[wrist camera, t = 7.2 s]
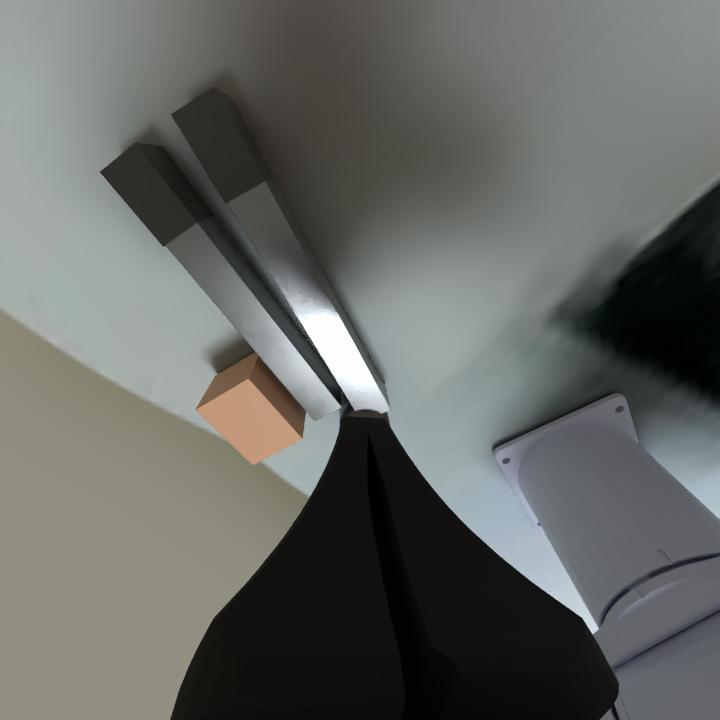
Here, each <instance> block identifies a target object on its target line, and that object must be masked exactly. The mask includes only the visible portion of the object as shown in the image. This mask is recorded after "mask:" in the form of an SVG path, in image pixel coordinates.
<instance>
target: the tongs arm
mask: <svg viewBox="0 0 720 720" xmlns="http://www.w3.org/2000/svg"><path fill="white" fill-rule="evenodd" d="M171 115H172V117H173V119H174V120H175V122H176V123H177V125H178V127H179V128H180V130H181V132H182V133H183V135H184V136H185V138H186V140H187V141H188V143H189V145H190V146H191V148H192V149H193V151H194V153H195V154H196V156H197V158H198V159H199V161H200V162H201V164H202V166H203V167H204V169H205V171H206V172H207V174H208V175H209V177H210V179H211V180H212V182H213V184H214V185H215V187H216V188H217V190H218V192H219V193H220V195H221V197H222V198H223V200H224V202H225V203H228V204H229V206H230V207H231V209H232V211H233V212H234V214H235V216H236V217H237V219H238V220H239V222H240V224H241V225H242V227H243V229H244V230H245V232H246V233H247V235H248V237H249V238H250V240H251V242H252V243H253V245H254V247H255V248H256V250H257V251H258V253H259V255H260V256H261V258H262V260H263V261H264V263H265V265H266V266H267V268H268V269H269V271H270V273H271V274H272V276H273V278H274V279H275V281H276V282H277V284H278V286H279V287H280V289H281V291H282V292H283V294H284V296H285V297H286V299H287V300H288V302H289V304H290V305H291V307H292V309H293V310H294V312H295V314H296V315H297V317H298V318H299V320H300V322H301V323H302V325H303V327H304V328H305V330H306V331H307V333H308V335H309V336H310V338H311V340H312V341H313V343H314V345H315V346H316V348H317V349H318V351H319V353H320V354H321V356H322V358H323V359H324V361H325V363H326V364H327V366H328V367H329V369H330V371H331V372H332V374H333V376H334V377H335V379H336V381H337V382H338V384H339V385H340V387H341V389H342V390H343V392H344V394H345V395H346V396H345V397H344V398H343V399H342V401H341V408H340V419H341V418H343V417H344V416H349V417H371V418H385V419H386V420H387V422H388V423H389V418H388V413H387V411H389V410H391V409H390V404H389V400H388V395H387V390H386V387H385V385H384V384H383V382H382V380H381V378H380V376H379V374H378V372H377V371H376V369H375V367H374V365H373V363H372V361H371V359H370V358H369V356H368V354H367V352H366V350H365V348H364V346H363V345H362V343H361V341H360V339H359V337H358V335H357V333H356V332H355V330H354V328H353V326H352V324H351V322H350V320H349V319H348V317H347V315H346V313H345V311H344V309H343V308H342V306H341V304H340V302H339V300H338V298H337V296H336V295H335V293H334V291H333V289H332V287H331V285H330V283H329V282H328V280H327V278H326V276H325V274H324V272H323V270H322V269H321V267H320V265H319V263H318V261H317V259H316V257H315V256H314V254H313V252H312V250H311V248H310V246H309V244H308V243H307V241H306V239H305V237H304V235H303V233H302V231H301V230H300V228H299V226H298V224H297V222H296V220H295V219H294V217H293V215H292V213H291V211H290V209H289V207H288V206H287V204H286V202H285V200H284V198H283V196H282V194H281V193H280V191H279V189H278V187H277V185H276V183H275V181H274V180H273V179H274V177H273V175H272V173H271V171H270V170H269V168H268V166H267V164H266V162H265V160H264V158H263V157H262V155H261V153H260V151H259V149H258V147H257V145H256V144H255V142H254V140H253V138H252V136H251V134H250V132H249V131H248V129H247V127H246V125H245V123H244V121H243V119H242V117H241V116H240V114H239V112H238V110H237V108H236V106H235V104H234V103H233V101H232V99H231V98H230V97H229V96H227V95H226V94H224V93H223V92H221V91H219V90H218V89H216V88H215V87H213V88H212V89H210V90H209V91H207V92H206V93H204V94H202V95H201V96H199V97H198V98H196V99H195V100H193V101H191V102H190V103H188V104H187V105H185V106H183V107H182V108H180V109H179V110H177V111H176V112H174V113H172V114H171ZM389 425H390V423H389Z"/></svg>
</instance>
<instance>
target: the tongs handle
mask: <svg viewBox="0 0 720 720" xmlns="http://www.w3.org/2000/svg"><path fill="white" fill-rule="evenodd" d="M100 173H101V174H102V175H103V176H104V177H105V179H106V180H107V181H108V182H109V183H110V185H111V186H112V187H113V188H114V189H115V190H116V192H117V193H118V194H119V195H120V196H121V197H122V199H123V200H124V201H125V202H126V203H127V204H128V206H129V207H130V208H131V209H132V210H133V212H134V213H135V214H136V215H137V216H138V217H139V219H140V220H141V221H142V222H143V223H144V224H145V226H146V227H147V228H148V229H149V230H150V231H151V233H152V234H153V235H154V236H155V237H156V239H157V240H158V241H159V242H160V243H161V244H162V246H163V247H164V246H166V247H167V248H168V249H169V250H170V251H171V253H172V254H173V255H174V256H175V257H176V258H177V260H178V261H179V262H180V263H181V264H182V266H183V267H184V268H185V269H186V270H187V271H188V273H189V274H190V275H191V276H192V277H193V278H194V280H195V281H196V282H197V283H198V284H199V286H200V287H201V288H202V289H203V290H204V291H205V293H206V294H207V295H208V296H209V297H210V299H211V300H212V301H213V302H214V303H215V304H216V306H217V307H218V308H219V309H220V310H221V312H222V313H223V314H224V315H225V316H226V317H227V319H228V320H229V321H230V322H231V323H232V324H233V326H234V327H235V328H236V329H237V330H238V332H239V333H240V334H241V335H242V336H243V337H244V339H245V340H246V341H247V342H248V343H249V345H250V346H251V347H252V348H253V349H254V350H255V352H256V353H257V354H258V355H259V356H260V357H261V359H262V360H263V361H264V362H265V363H266V365H267V366H268V367H269V368H270V369H271V370H272V372H273V373H274V374H275V375H276V376H277V378H278V379H279V380H280V381H281V382H282V383H283V385H284V386H285V387H286V388H287V389H288V391H289V392H290V393H291V394H292V395H293V396H294V398H295V399H296V400H297V401H298V402H299V403H300V405H301V406H302V407H303V408H304V409H305V411H306V412H307V413H308V414H309V415H310V416H311V418H312V419H313V420H314V421H317V420H319V419H320V418H322V417H324V416H326V415H328V414H330V413H332V412H334V411H335V410H337V409H339V408H341V387H340V385H339V384H338V382H337V381H336V379H335V377H334V376H333V375H332V373H331V372H330V371H329V369H328V368H327V367H326V365H325V364H324V363H323V361H322V360H321V359H320V357H319V356H318V355H317V353H316V352H315V351H314V349H313V348H312V347H311V346H310V344H309V343H308V342H307V340H306V339H305V338H304V336H303V335H302V334H301V332H300V331H299V330H298V328H297V327H296V326H295V324H294V323H293V322H292V320H291V319H290V318H289V316H288V315H287V314H286V312H285V311H284V310H283V308H282V307H281V306H280V304H279V303H278V302H277V301H276V299H275V298H274V297H273V295H272V294H271V293H270V291H269V290H268V289H267V287H266V286H265V285H264V283H263V282H262V281H261V279H260V278H259V277H258V275H257V274H256V273H255V271H254V270H253V269H252V267H251V266H250V265H249V263H248V262H247V261H246V259H245V258H244V257H243V255H242V254H241V253H240V252H239V250H238V249H237V248H236V246H235V245H234V244H233V242H232V241H231V240H230V238H229V237H228V236H227V234H226V233H225V232H224V230H223V229H222V228H221V226H220V225H219V224H218V222H217V221H216V220H215V218H214V217H213V216H214V215H213V214H212V213H211V211H210V210H209V209H208V207H207V206H206V205H205V203H204V202H203V201H202V199H201V198H200V197H199V195H198V194H197V193H196V191H195V190H194V189H193V187H192V186H191V185H190V183H189V182H188V181H187V179H186V178H185V177H184V175H183V174H182V173H181V171H180V170H179V169H178V167H177V166H176V165H175V163H174V162H173V161H172V160H171V158H170V157H169V156H168V154H167V153H166V152H165V150H164V149H163V148H162V146H157V145H148V144H139V143H135V144H133V145H132V146H131V147H130V148H129V149H127V150H126V151H125V152H124V153H122V154H121V155H120V156H119V157H118V158H116V159H115V160H114V161H113V162H111V163H110V164H109V165H108V166H107V167H105V168H104V169H103V170H102V171H100Z"/></svg>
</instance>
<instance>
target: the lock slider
mask: <svg viewBox="0 0 720 720" xmlns="http://www.w3.org/2000/svg"><path fill="white" fill-rule="evenodd" d="M196 411H197V412H198V413H199V414H200V415H201V416H202V417H203V418H204V419H205V420H206V421H207V422H209V423H210V424H211V425H212V426H213V427H214V428H215V429H216V430H217V431H218V432H219V433H220V434H221V435H222V436H223V437H224V438H225V439H226V440H227V441H228V442H229V443H230V444H231V445H232V446H233V447H235V449H236V450H238V451H239V452H240V453H241V454H242V455H243V456H244V457H245V458H246V459H247V460H248V461H249V462H250V463H251V464H252V465H254V464H256V463H258V462H259V461H261V460H263V459H265V458H267V457H269V456H271V455H273V454H275V453H276V452H278V451H280V450H282V449H284V448H286V447H288V446H290V445H292V444H294V443H295V442H297V441H299V440H301V439H302V438H303V430H304V422H305V415H306V411H305V409H304V408H303V407H302V406H301V405H300V403H299V402H298V401H297V400H296V399H295V398H294V396H293V395H292V394H291V393H290V392H289V391H288V389H287V388H286V387H285V386H284V385H283V383H282V382H281V381H280V380H279V379H278V378H277V376H276V375H275V374H274V373H273V372H272V370H271V369H270V368H269V367H268V366H267V365H266V363H265V362H264V361H263V360H262V359H261V357H260V356H259V355H258V354H257V353H256V352H254V353H252V354H251V355H249V356H247V357H246V358H244V359H242V360H241V361H239V362H237V363H236V364H234V365H233V366H231V367H229V368H228V369H226V370H224V371H223V372H221V373H219V374H218V375H216V376H215V377H214V379H213V381H212V382H211V384H210V386H209V388H208V389H207V391H206V393H205V394H204V396H203V398H202V400H201V401H200V403H199V405H198V406H197V408H196Z"/></svg>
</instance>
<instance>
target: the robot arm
mask: <svg viewBox="0 0 720 720" xmlns="http://www.w3.org/2000/svg"><path fill="white" fill-rule="evenodd" d="M617 407H618V408H617ZM616 408H617V409H616ZM493 454H494V457H495V458H496V460H497V462H498V464H499V466H500V467H501V469H502V471H503V473H504V474H505V476H506V478H507V480H508V481H509V483H510V485H511V487H512V488H513V490H514V492H515V494H516V495H517V497H518V499H519V501H520V502H521V504H522V506H523V508H524V509H525V511H526V513H527V515H528V516H529V518H530V520H531V522H532V523H533V525H534V527H535V529H536V531H537V532H538V534H539V535H546V536H547V538H548V539H549V541H550V543H551V545H552V546H553V548H554V550H555V552H556V554H557V555H558V557H559V559H560V561H561V562H562V564H563V566H564V568H565V569H566V571H567V573H568V575H569V577H570V578H571V580H572V582H573V584H574V585H575V587H576V589H577V591H578V593H579V594H580V596H581V598H582V600H583V601H584V603H585V605H586V607H587V608H588V610H589V612H590V614H591V616H592V617H593V619H594V621H595V623H596V624H597V626H598V628H599V630H598V631H596V632H595V633H594V634H593V635H592V633H591V631H590V630H589V628H588V627H587V625H586V623H585V622H584V620H583V619H582V618H581V617H580V616H579V615H577V614H576V613H574V612H573V611H572V610H570V609H569V608H567V607H566V606H565V605H563V604H562V603H560V602H559V601H557V600H556V599H555V598H553V597H552V596H550V595H549V594H548V593H546V592H545V591H543V590H542V589H541V588H539V587H538V586H536V585H535V584H534V583H532V582H531V581H530V580H529V579H527V578H526V577H525V576H524V575H522V574H521V573H520V572H519V571H517V570H516V569H515V568H514V567H512V566H511V565H510V564H509V563H507V562H506V561H505V560H504V559H503V558H501V557H500V556H499V555H498V554H497V553H496V552H494V551H493V550H492V549H491V548H490V547H489V546H488V545H487V544H486V543H484V542H483V541H482V540H481V539H480V538H479V537H478V536H477V535H476V534H475V533H473V532H472V531H471V530H470V529H469V528H468V527H467V526H466V525H465V524H464V523H463V522H462V521H461V520H460V519H459V518H458V517H457V516H456V514H455V513H454V512H453V511H452V510H451V509H450V508H449V507H448V506H447V505H446V504H445V502H444V501H443V500H442V499H441V498H440V497H439V495H438V494H437V493H436V492H435V491H434V489H433V488H432V487H431V486H430V484H429V483H428V482H427V481H426V479H425V478H424V477H423V475H422V474H421V473H420V471H419V470H418V469H417V467H416V466H415V464H414V463H413V462H412V460H411V459H410V457H409V456H408V454H407V453H406V451H405V450H404V448H403V447H402V445H401V444H400V442H399V441H398V439H397V437H396V436H395V434H394V432H393V431H392V429H391V427H390V425H389V423H388V422H387V420H386V419H385V418H371V417H349V416H344V417H343V418H341V419H340V429H339V433H338V437H337V440H336V443H335V446H334V449H333V451H332V454H331V456H330V459H329V461H328V463H327V466H326V468H325V470H324V472H323V474H322V476H321V478H320V480H319V482H318V484H317V486H316V487H315V489H314V491H313V493H312V495H311V496H310V498H309V500H308V502H307V503H306V505H305V506H304V508H303V510H302V511H301V513H300V514H299V516H298V517H297V519H296V520H295V522H294V523H293V525H292V526H291V527H290V529H289V530H288V532H287V533H286V535H285V536H284V538H283V539H282V540H281V541H280V543H279V544H278V545H277V547H276V548H275V549H274V550H273V552H272V553H271V554H270V555H269V556H268V558H267V559H266V560H265V561H264V563H263V564H262V565H261V566H260V568H259V569H258V570H257V571H256V573H255V574H254V575H253V576H252V577H251V578H250V580H249V581H248V582H247V583H246V584H245V585H244V586H243V587H242V588H241V589H240V591H239V592H238V593H237V594H236V595H235V596H234V597H233V598H232V599H231V600H230V601H229V602H228V603H227V604H226V605H225V607H224V608H223V609H222V610H221V611H220V612H219V613H218V614H217V615H216V616H215V618H214V619H213V620H212V622H211V624H210V626H209V628H208V629H207V631H206V633H205V635H204V637H203V639H202V641H201V642H200V644H199V647H198V649H197V650H196V652H195V655H194V657H193V659H192V661H191V663H190V665H189V668H188V670H187V672H186V675H185V677H184V680H183V682H182V685H181V687H180V690H179V693H178V696H177V700H176V703H175V706H174V709H173V712H172V716H171V719H170V720H720V519H719V518H717V517H716V516H715V515H714V514H713V513H712V512H711V511H710V510H709V509H708V508H707V507H706V506H705V505H703V504H702V503H701V502H700V501H699V500H698V499H697V498H696V497H695V496H694V495H693V494H692V493H691V492H689V491H688V490H687V489H686V488H685V487H684V486H683V485H682V484H681V483H680V482H679V481H678V480H676V479H675V478H674V477H673V476H672V475H671V474H670V473H669V472H668V471H667V470H666V469H665V468H664V467H662V466H661V465H660V464H659V463H658V462H657V461H656V460H655V459H654V458H653V457H652V456H651V455H650V454H648V453H647V452H646V451H645V450H644V449H643V448H642V447H641V446H640V445H639V441H638V438H637V434H636V431H635V428H634V424H633V421H632V417H631V414H630V410H629V407H628V404H627V400H626V398H625V397H624V396H623V395H622V394H620V393H614V394H611V395H609V396H607V397H605V398H602V399H600V400H598V401H596V402H594V403H592V404H589V405H587V406H585V407H583V408H581V409H579V410H576V411H574V412H572V413H570V414H568V415H566V416H563V417H561V418H559V419H557V420H555V421H553V422H550V423H548V424H546V425H544V426H542V427H540V428H537V429H535V430H533V431H531V432H529V433H527V434H524V435H522V436H520V437H518V438H516V439H514V440H511V441H509V442H507V443H505V444H503V445H501V446H498V447H497V448H496V449H495V450H494V452H493ZM504 458H506V459H504Z"/></svg>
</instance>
